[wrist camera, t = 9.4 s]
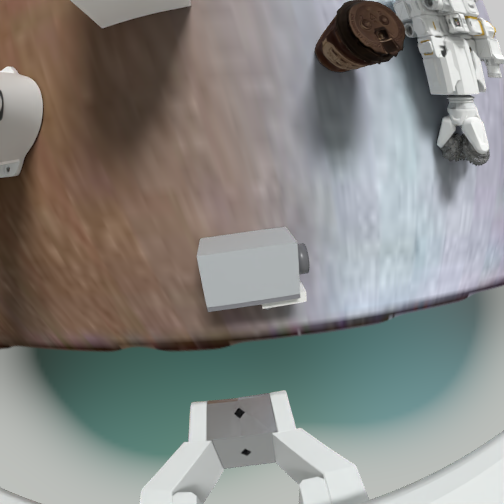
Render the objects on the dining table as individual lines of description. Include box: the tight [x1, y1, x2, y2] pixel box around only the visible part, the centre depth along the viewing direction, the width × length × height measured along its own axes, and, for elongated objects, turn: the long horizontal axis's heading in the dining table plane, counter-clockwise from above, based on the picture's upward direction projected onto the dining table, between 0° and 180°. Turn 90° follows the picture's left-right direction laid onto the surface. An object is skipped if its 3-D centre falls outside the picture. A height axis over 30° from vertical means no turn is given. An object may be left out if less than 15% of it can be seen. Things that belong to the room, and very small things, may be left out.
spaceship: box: [393, 0, 504, 166], centre depth 30 cm, size 16×35×12 cm, turn 17°
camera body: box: [197, 227, 309, 312], centre depth 40 cm, size 14×8×7 cm, turn 96°
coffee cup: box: [315, 0, 406, 72], centre depth 29 cm, size 9×8×13 cm
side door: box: [261, 281, 306, 310], centre depth 42 cm, size 6×2×5 cm, turn 96°
